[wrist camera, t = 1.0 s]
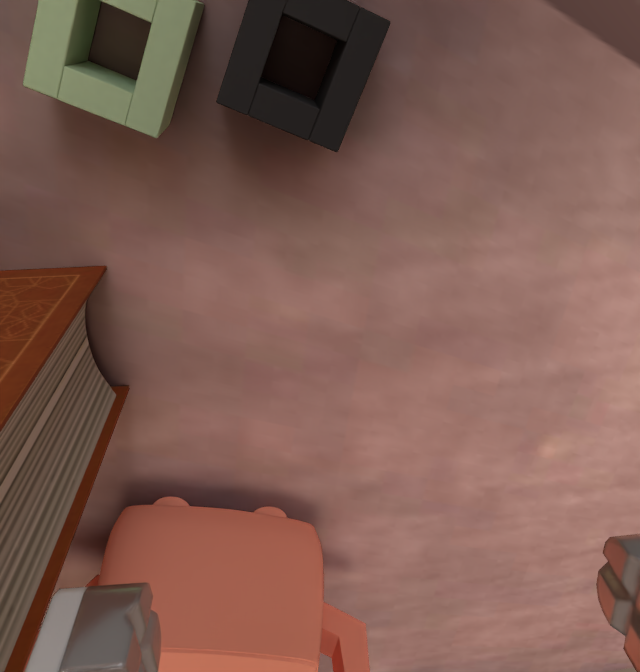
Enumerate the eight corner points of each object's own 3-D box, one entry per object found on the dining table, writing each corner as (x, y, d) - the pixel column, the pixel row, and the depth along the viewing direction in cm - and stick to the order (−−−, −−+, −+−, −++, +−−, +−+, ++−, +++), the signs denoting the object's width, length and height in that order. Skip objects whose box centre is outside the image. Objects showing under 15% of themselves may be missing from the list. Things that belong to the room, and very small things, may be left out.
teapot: (51, 599, 46) (-30, 814, 34) (53, 467, 41) (-43, 665, 28) (334, 620, 50) (356, 821, 37) (370, 501, 44) (411, 690, 32)
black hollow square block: (262, -33, 29) (261, -42, 25) (377, 21, 30) (391, 21, 27) (221, 93, 31) (216, 102, 28) (329, 139, 33) (337, 152, 29)
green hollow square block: (77, -54, 28) (50, -65, 24) (204, 4, 29) (196, 1, 26) (50, 78, 30) (21, 85, 27) (169, 125, 32) (157, 139, 28)
